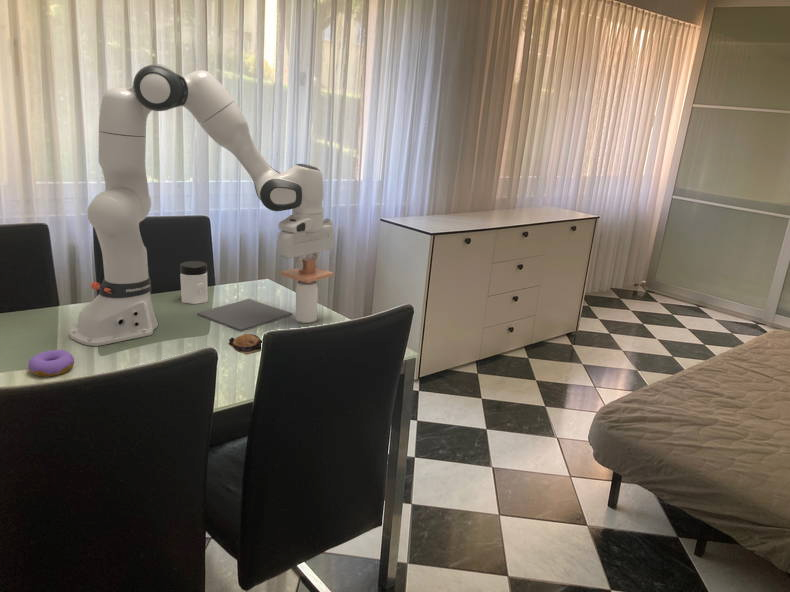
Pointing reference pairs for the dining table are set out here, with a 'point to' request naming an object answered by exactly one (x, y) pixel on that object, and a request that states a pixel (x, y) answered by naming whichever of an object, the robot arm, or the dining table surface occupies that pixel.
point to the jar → (194, 282)
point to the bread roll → (246, 343)
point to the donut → (51, 363)
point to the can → (306, 302)
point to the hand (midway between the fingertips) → (307, 268)
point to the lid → (307, 272)
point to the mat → (244, 314)
